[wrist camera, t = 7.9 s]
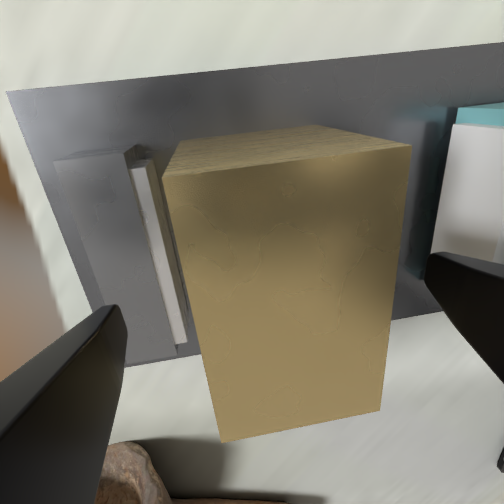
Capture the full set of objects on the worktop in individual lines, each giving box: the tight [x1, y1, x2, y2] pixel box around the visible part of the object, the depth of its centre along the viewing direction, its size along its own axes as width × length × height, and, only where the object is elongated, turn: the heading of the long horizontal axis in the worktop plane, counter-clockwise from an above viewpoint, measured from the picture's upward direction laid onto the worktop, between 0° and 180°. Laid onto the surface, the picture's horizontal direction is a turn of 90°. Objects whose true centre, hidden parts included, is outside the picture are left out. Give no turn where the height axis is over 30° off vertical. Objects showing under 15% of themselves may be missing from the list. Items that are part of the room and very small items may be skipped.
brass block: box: [162, 125, 412, 443], centre depth 11 cm, size 8×5×6 cm, turn 6°
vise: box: [6, 42, 504, 368], centre depth 13 cm, size 26×12×3 cm, turn 95°
